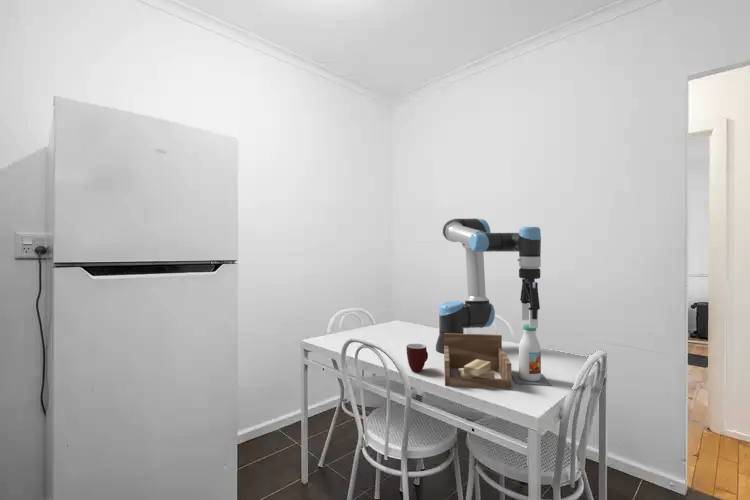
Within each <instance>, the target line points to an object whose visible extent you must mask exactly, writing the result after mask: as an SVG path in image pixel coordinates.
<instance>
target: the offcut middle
mask: <svg viewBox="0 0 750 500" xmlns="http://www.w3.org/2000/svg"><path fill="white" fill-rule="evenodd" d="M495 373H496V371H495V370H491V369H489V370H487V371H486V372H484V373H483V374H481V375H479V376H475V375H470V374H466V373H464V368H457V376H459V377H478V378H495V377H496V376H495Z"/></svg>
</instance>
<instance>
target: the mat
mask: <svg viewBox="0 0 750 500" xmlns="http://www.w3.org/2000/svg"><path fill="white" fill-rule="evenodd" d="M511 378H512V380H514V382H515V384H516V385H527V386H544V387H545V386H548V387H552V383H551V382H550V381H549V380H548V378H547V377H546V376H545V375H544V374H543V373H541V379H540V380H539V381H527V380H523V379H521V378H520V377H519V372H512V371H511Z"/></svg>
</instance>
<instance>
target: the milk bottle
mask: <svg viewBox="0 0 750 500" xmlns="http://www.w3.org/2000/svg"><path fill="white" fill-rule="evenodd" d="M522 330H523V335H522V338H521V340H520V341H519V345H518V373H519V377H520V378H521V379H523V380H527V381H539V380H540V379H541V374H542V359H541V358H542V353H541V351H542V350H541V349H542V348H541V345H540V342H539V340H538V338H537V334H536V332H537V328H530V327H529V324H524V325H523V326H522Z"/></svg>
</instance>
